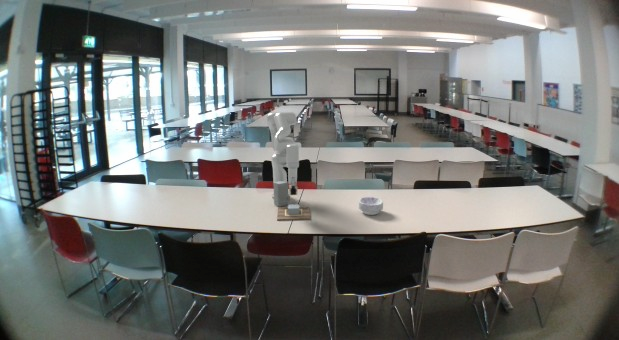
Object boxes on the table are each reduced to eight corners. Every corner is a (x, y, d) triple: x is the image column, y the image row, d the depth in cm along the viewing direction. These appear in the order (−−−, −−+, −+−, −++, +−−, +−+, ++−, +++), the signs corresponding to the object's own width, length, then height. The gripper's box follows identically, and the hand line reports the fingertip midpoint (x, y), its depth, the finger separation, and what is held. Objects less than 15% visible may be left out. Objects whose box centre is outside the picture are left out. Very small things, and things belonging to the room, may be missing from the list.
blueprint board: (278, 208, 229) (277, 201, 228) (308, 207, 230) (308, 200, 229) (277, 220, 210) (276, 212, 208) (310, 219, 211) (310, 211, 209)
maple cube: (289, 192, 218) (289, 185, 217) (297, 192, 219) (297, 184, 218) (289, 195, 214) (289, 187, 212) (297, 194, 214) (297, 187, 213)
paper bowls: (364, 218, 212) (364, 205, 210) (354, 209, 227) (355, 198, 225) (387, 215, 216) (387, 203, 214) (376, 207, 231) (376, 195, 229)
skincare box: (278, 207, 232) (278, 184, 228) (273, 204, 237) (272, 181, 233) (289, 204, 236) (289, 182, 232) (283, 201, 242) (283, 179, 238)
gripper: (286, 161, 220) (287, 189, 224) (286, 168, 203) (287, 197, 208) (298, 161, 220) (299, 189, 225) (299, 167, 204) (299, 197, 208)
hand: (293, 192), depth 216 cm, fingers closed on maple cube, 4 cm apart
